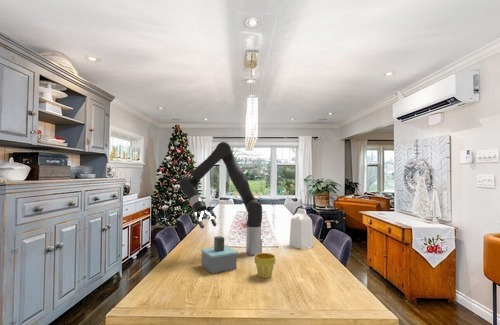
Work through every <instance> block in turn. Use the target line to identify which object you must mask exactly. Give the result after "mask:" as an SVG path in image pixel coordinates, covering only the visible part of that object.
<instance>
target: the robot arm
mask: <svg viewBox="0 0 500 325" xmlns="http://www.w3.org/2000/svg"><path fill="white" fill-rule="evenodd" d="M221 160H222V161H223V163H224V166H225V168H226V171H227V173H228V175H229V178H230V181H231V183H232V184H233V186H234V188H235V189H236V191H237V193H238V195H239V196H240V197H241V199H242V202H243V205H244V207H245V210H246V212H247V220H246V234H245V235H246V236H245V237H246V239H245V240H246V243H245V244H246V246H245V251H246V255H247V256H248V255H249V256H255V255H256V254H258V253H263V238H262V222H263V206H262V204H261V202H260V201H257V199H256V198H255V196H254V194H253V193H252V190H251V187H250V184H249V181H248V178H247V177H246V174H245V172H244V170H243V169H242V167H241V166H240V165H239V163H238V162H237V160H236V158H235V156H234V154H233V151H232V148H231V144H229V143H228V142H225V141H221V142H219V143H217V145H216V147H215V148H214V150H213V151H212V152H211V154H209V156H208V157H207V158H206V159H205V160H204V161H202V162H201V163H200V164H199V165H198V166H197V167H196V168H195V169H194V170H193V171H192V172H191V178H189V177H187V176H186V177H185V176H183V177H182V178H180V180H179V186H180V188H181V190H182V192H183V193H184V195H186V197H187V200H188V202H189V205H190V206H191V208H192V210H193V212H192V213H191V217H192V220H193V223H195V224H198V226H199V228H200V229H204V228H205V225H204V222H203V221H202V220H208V221H210V222H211V225H212V226H213V227H216V226H217V222H216V219H217V216H216V214H215V213H214V210H213V209H211V210H208V209H207V208H208V207H207V205H206V204H205V202H204V200H203V198H202V196H201V195H200V193H199V191H198V190H197V189H196V188H197V186H198V184H199V183H200V181H201V179H203V178H204V176H206V175H207V173H209V171H210V170H211V169H212V168H213V167H214V166H216V164H217V163H218V162H219V161H221Z"/></svg>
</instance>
